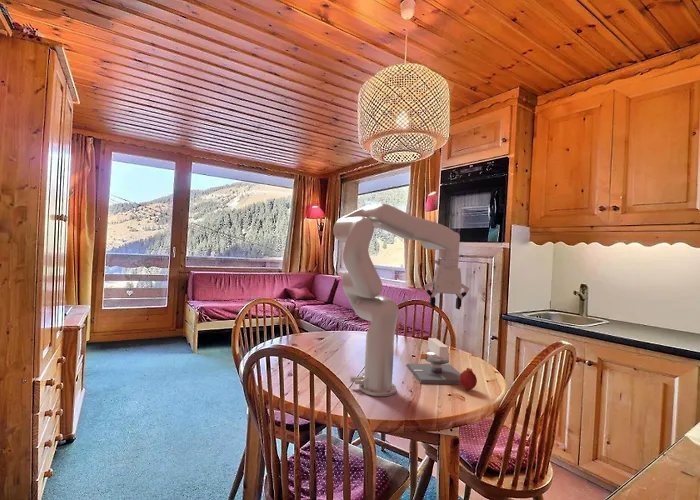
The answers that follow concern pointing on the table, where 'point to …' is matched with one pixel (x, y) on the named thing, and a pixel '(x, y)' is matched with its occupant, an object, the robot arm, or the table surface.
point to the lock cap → (436, 352)
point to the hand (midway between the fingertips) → (445, 308)
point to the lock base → (435, 373)
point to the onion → (468, 379)
